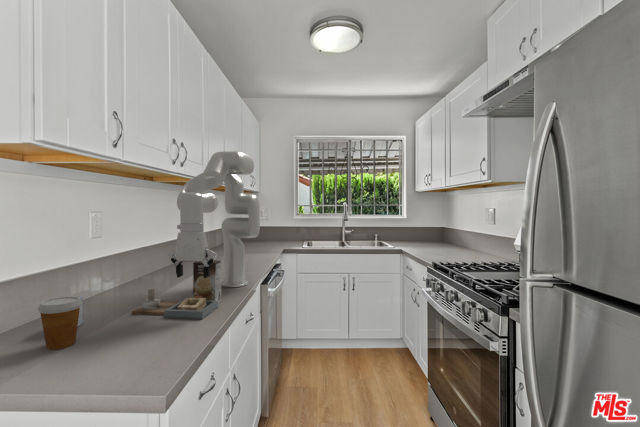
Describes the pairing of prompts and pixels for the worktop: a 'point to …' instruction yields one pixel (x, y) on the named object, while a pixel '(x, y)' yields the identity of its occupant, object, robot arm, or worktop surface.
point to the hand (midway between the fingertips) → (193, 276)
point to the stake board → (157, 311)
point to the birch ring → (193, 303)
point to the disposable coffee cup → (60, 321)
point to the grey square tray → (191, 311)
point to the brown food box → (207, 281)
